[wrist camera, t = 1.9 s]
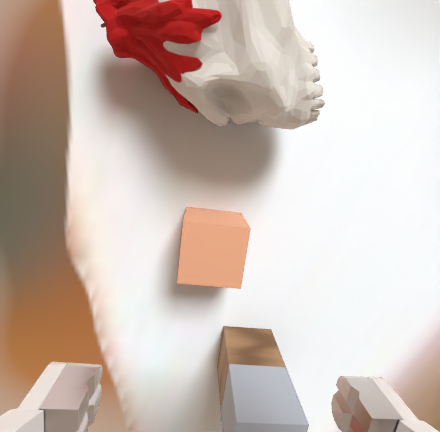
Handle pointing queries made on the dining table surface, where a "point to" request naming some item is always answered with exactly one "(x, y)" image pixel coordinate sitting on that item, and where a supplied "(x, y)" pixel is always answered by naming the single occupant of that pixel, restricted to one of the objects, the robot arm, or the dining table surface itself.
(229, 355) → the tower base
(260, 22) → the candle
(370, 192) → the dining table surface
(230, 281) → the terracotta block
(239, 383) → the block
